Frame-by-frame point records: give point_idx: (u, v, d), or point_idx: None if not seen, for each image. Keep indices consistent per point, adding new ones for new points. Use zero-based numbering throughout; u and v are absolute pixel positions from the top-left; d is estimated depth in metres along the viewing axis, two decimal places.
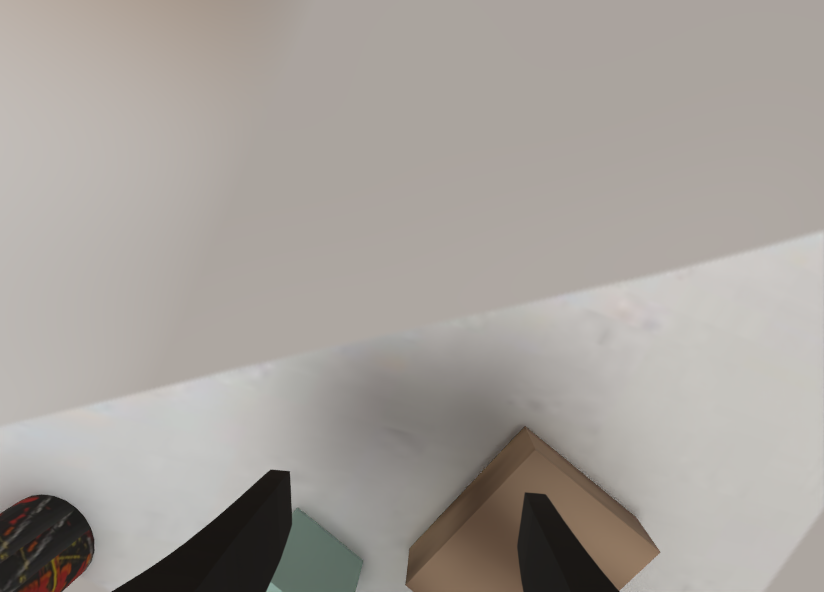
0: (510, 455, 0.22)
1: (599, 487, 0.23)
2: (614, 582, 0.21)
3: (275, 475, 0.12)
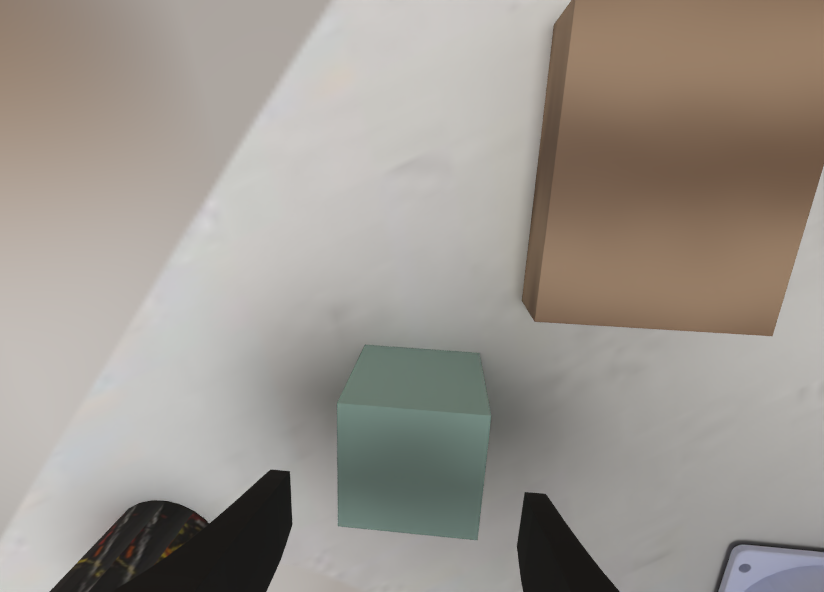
0: (556, 64, 0.14)
1: None
2: None
3: (275, 475, 0.12)
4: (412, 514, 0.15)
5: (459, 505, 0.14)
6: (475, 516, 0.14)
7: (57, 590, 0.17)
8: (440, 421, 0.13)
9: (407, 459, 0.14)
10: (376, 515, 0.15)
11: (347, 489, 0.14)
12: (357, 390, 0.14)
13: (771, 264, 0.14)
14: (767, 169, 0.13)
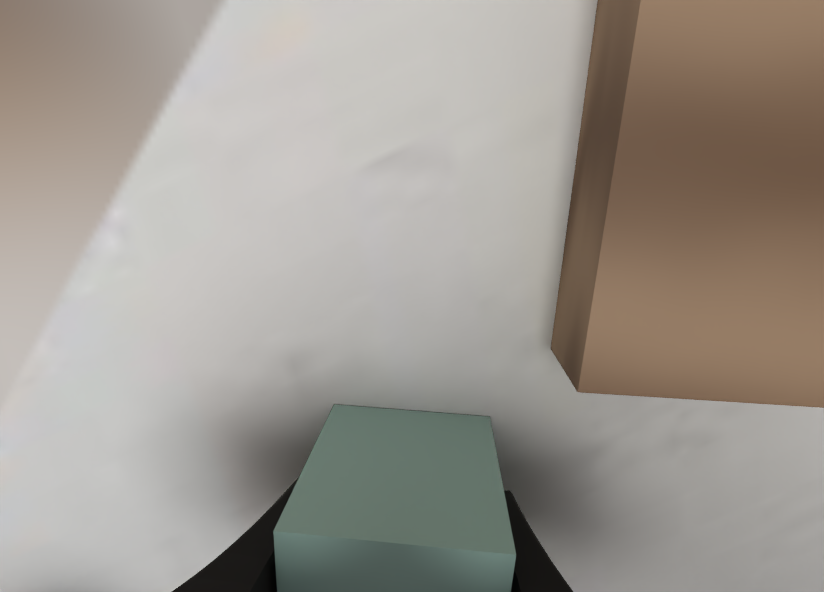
0: (614, 2, 0.09)
1: None
2: None
3: None
4: None
5: None
6: None
7: None
8: (435, 560, 0.09)
9: None
10: None
11: None
12: (309, 500, 0.09)
13: None
14: None
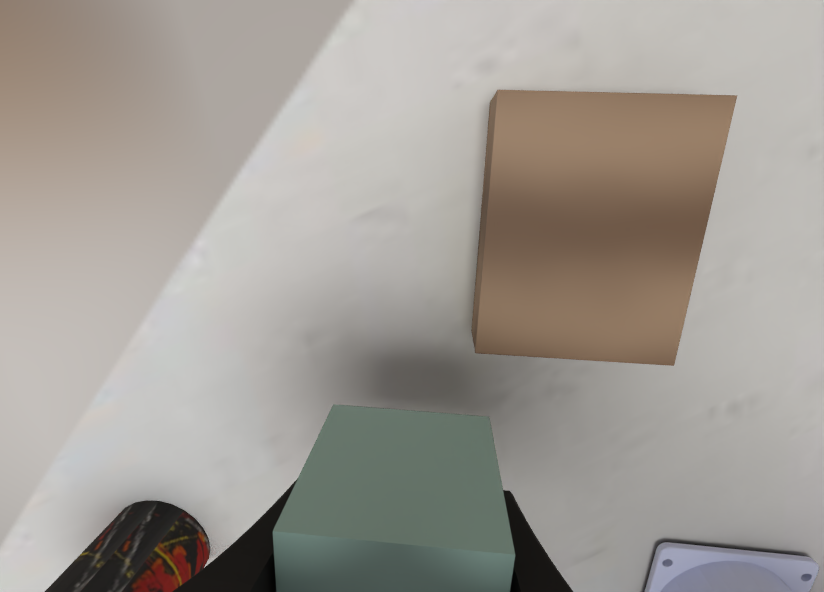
0: (489, 138, 0.16)
1: None
2: (704, 178, 0.15)
3: None
4: None
5: None
6: None
7: (62, 579, 0.20)
8: (434, 560, 0.09)
9: None
10: None
11: None
12: (308, 500, 0.09)
13: (669, 306, 0.16)
14: (660, 230, 0.15)
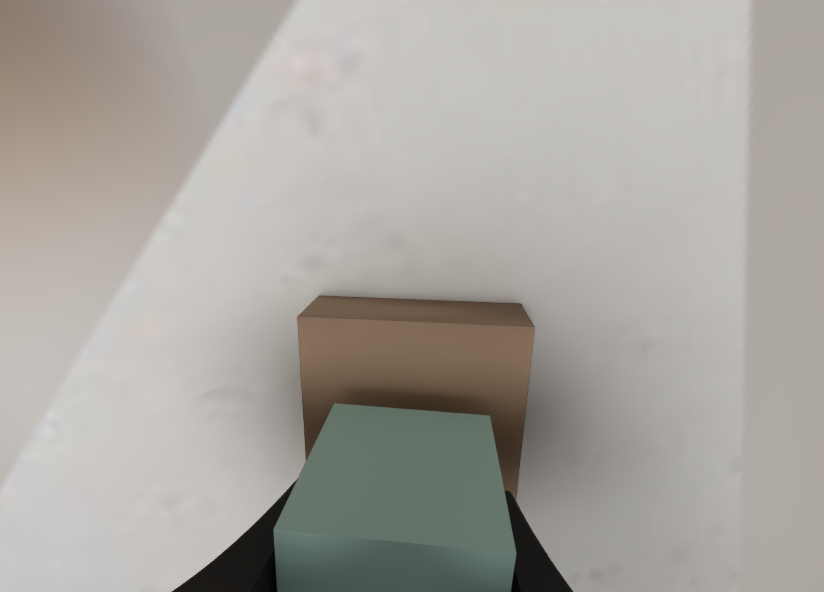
0: None
1: (451, 301, 0.16)
2: (513, 398, 0.14)
3: None
4: None
5: None
6: None
7: None
8: (435, 559, 0.09)
9: None
10: None
11: None
12: (309, 498, 0.09)
13: None
14: None
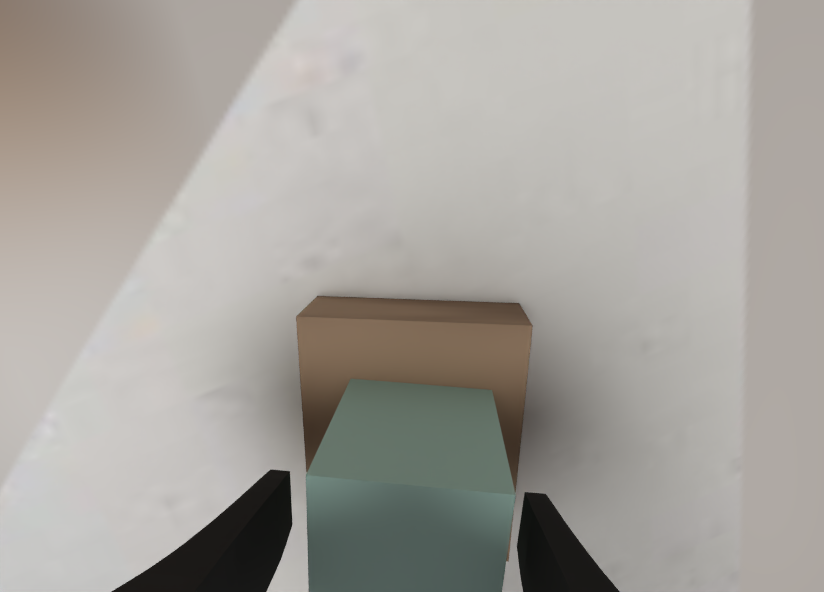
0: None
1: None
2: (511, 397, 0.15)
3: (275, 475, 0.12)
4: None
5: None
6: None
7: None
8: (446, 501, 0.10)
9: (401, 548, 0.10)
10: None
11: (321, 583, 0.11)
12: (335, 453, 0.11)
13: None
14: None
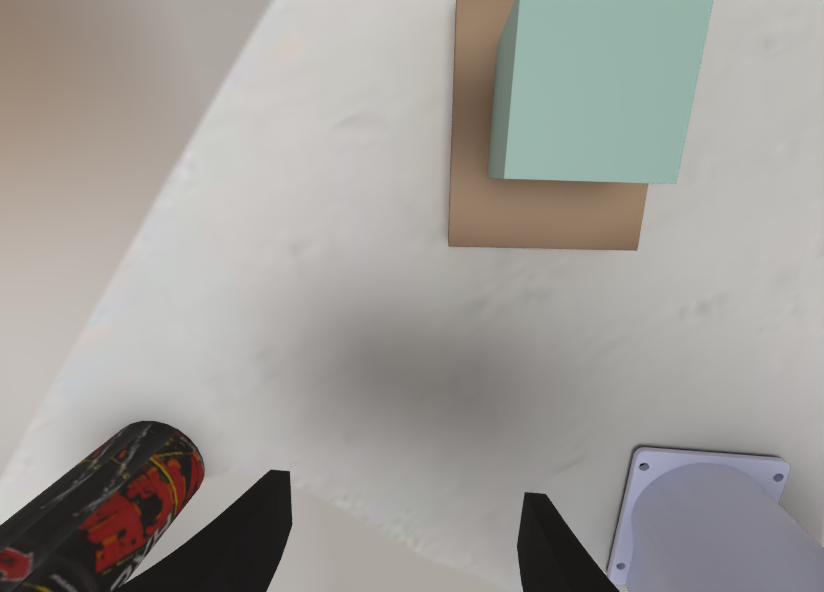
0: (455, 36, 0.17)
1: None
2: None
3: (275, 475, 0.12)
4: (598, 151, 0.12)
5: (660, 131, 0.12)
6: (677, 148, 0.12)
7: (61, 479, 0.21)
8: (650, 0, 0.11)
9: (601, 65, 0.11)
10: (553, 157, 0.12)
11: (521, 120, 0.12)
12: None
13: (629, 190, 0.17)
14: None
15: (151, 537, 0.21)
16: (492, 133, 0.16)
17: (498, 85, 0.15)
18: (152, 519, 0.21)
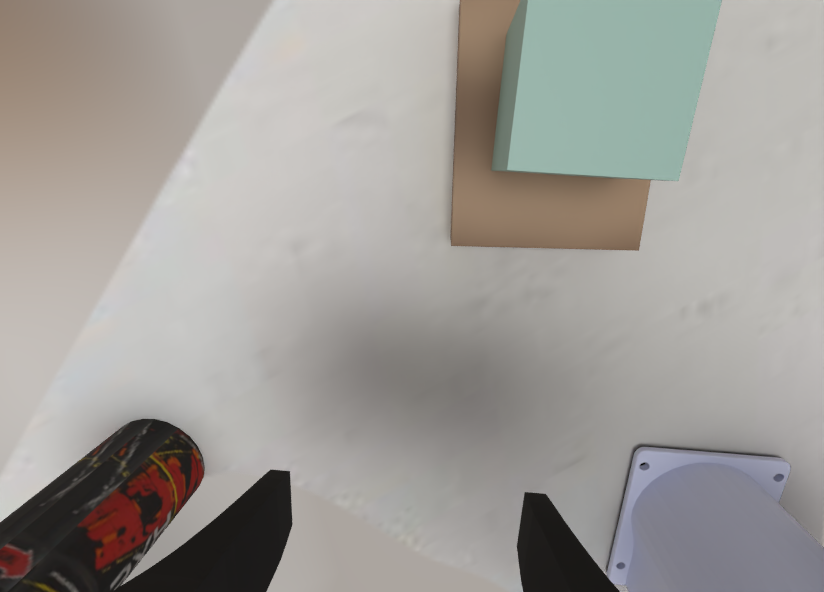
0: None
1: None
2: None
3: (275, 475, 0.12)
4: (602, 146, 0.12)
5: (664, 127, 0.12)
6: (681, 144, 0.12)
7: (61, 476, 0.21)
8: None
9: (608, 59, 0.11)
10: (557, 150, 0.12)
11: (526, 111, 0.12)
12: None
13: (631, 190, 0.17)
14: None
15: (151, 535, 0.21)
16: (497, 126, 0.16)
17: (505, 77, 0.15)
18: (152, 517, 0.21)
